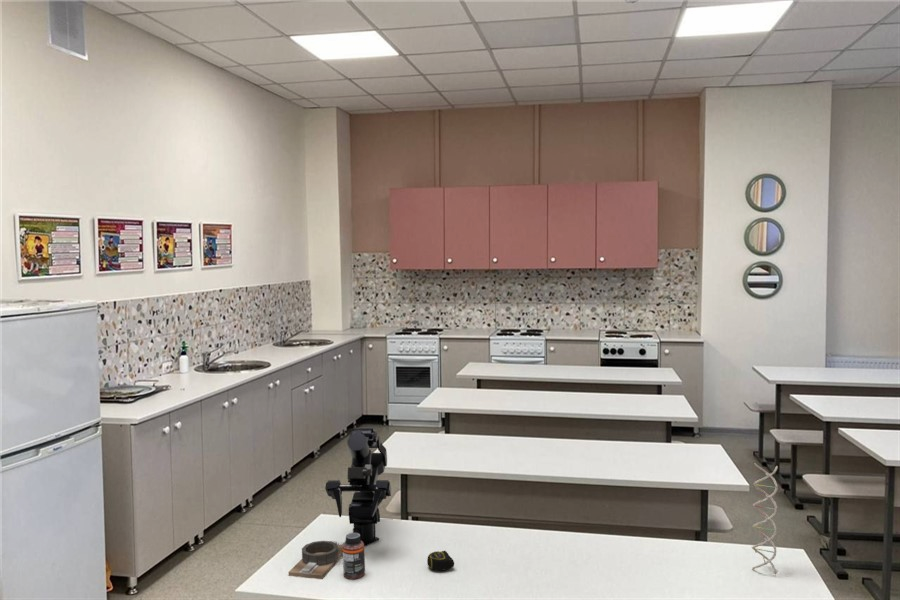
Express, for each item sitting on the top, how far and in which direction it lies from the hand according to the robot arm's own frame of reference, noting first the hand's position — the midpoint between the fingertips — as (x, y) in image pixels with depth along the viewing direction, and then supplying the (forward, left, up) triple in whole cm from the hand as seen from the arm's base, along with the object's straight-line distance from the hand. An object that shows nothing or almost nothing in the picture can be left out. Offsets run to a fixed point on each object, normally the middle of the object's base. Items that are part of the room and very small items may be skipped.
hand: (356, 516), depth 202 cm
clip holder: (+6, -9, -13) cm, 17 cm away
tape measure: (-12, +21, -14) cm, 28 cm away
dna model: (-63, +94, -14) cm, 114 cm away
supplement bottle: (+6, +5, -14) cm, 16 cm away
